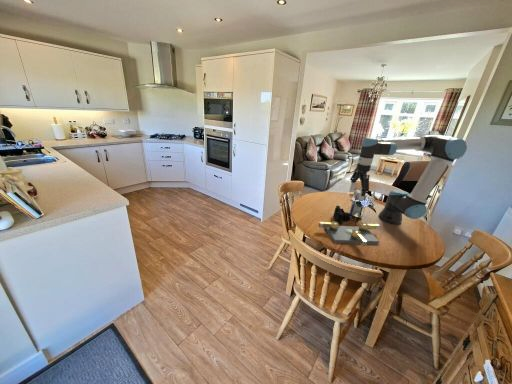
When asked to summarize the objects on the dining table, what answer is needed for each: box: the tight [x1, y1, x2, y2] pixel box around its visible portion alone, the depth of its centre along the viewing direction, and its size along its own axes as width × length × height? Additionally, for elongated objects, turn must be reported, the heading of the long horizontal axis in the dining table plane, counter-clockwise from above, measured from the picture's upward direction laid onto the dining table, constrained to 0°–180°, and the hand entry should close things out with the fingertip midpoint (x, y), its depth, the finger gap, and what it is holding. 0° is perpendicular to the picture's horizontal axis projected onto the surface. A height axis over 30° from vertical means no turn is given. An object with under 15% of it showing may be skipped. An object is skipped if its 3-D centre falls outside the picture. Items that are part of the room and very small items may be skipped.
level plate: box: [324, 225, 380, 245], centre depth 133 cm, size 28×16×3 cm, turn 93°
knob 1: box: [318, 220, 339, 231], centre depth 134 cm, size 12×5×4 cm, turn 93°
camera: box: [333, 205, 352, 226], centre depth 148 cm, size 14×11×10 cm
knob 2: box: [358, 222, 381, 232], centre depth 136 cm, size 12×5×4 cm, turn 93°
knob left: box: [351, 229, 368, 247], centre depth 124 cm, size 12×5×4 cm, turn 3°
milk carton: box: [349, 188, 367, 217], centre depth 157 cm, size 7×7×20 cm
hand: (355, 195), depth 134 cm, fingers open, 13 cm apart
